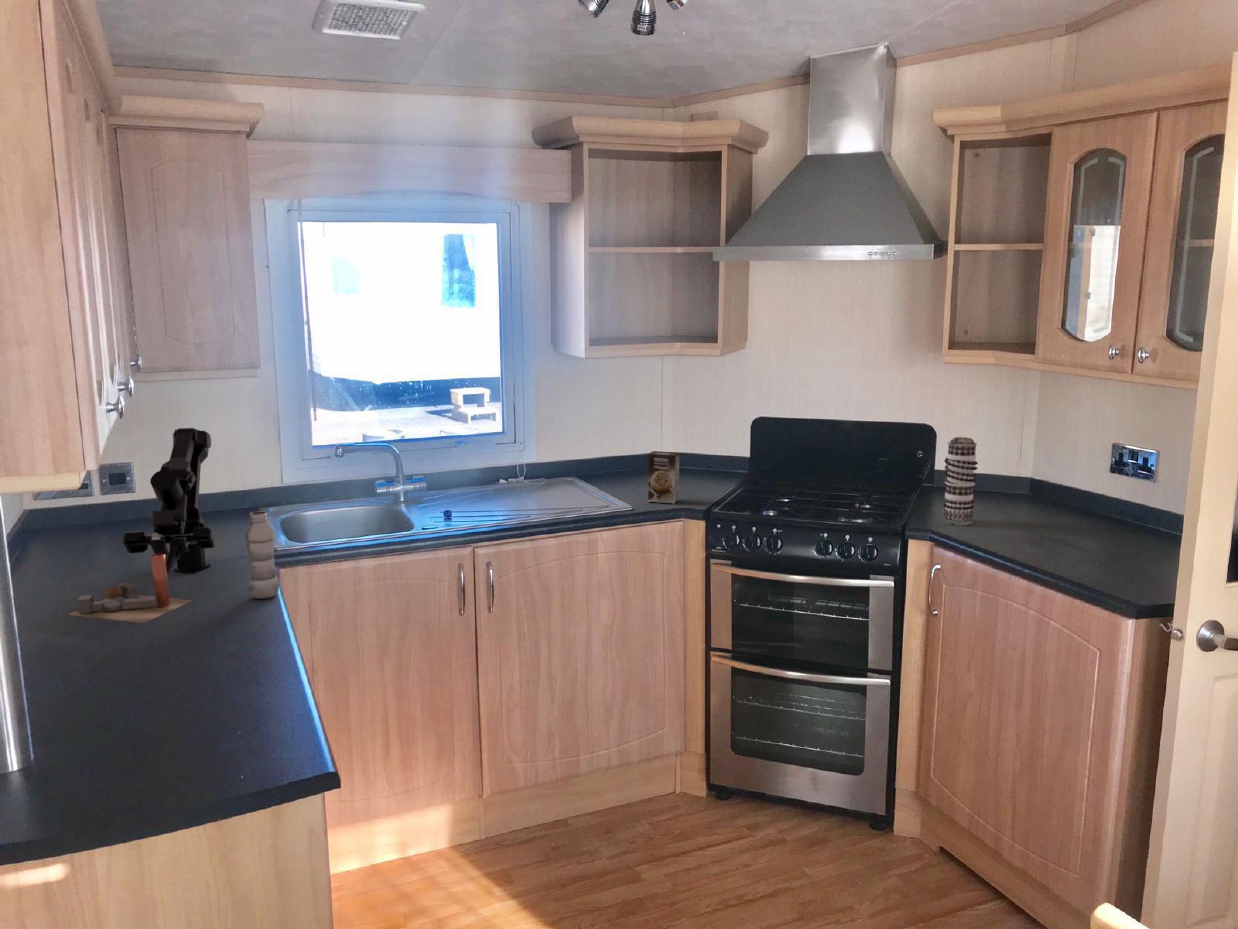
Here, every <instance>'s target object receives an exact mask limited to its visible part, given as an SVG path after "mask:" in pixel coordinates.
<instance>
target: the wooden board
mask: <svg viewBox="0 0 1238 929" xmlns="http://www.w3.org/2000/svg"><path fill="white" fill-rule="evenodd" d="M116 586H117V587H119V588H121V590H122V592H123V595H122V597H124V599H134V598H147V597H155V595H145V594H144V595H143V594H138V585H137V584H133V583H129V582H122V583H118V584H117V585H116ZM169 598H170V597H169ZM192 602H193V600H190V599H180V598H170V605H168V606H164V607H147V608H134V609H122V610H119V611H114V612H105V611H93V612H89V613H78V609H77V610H75V611H73V612H70V613H68V614H67V615H68V616H77V617H86V618H96V619H104V620H111V621H121V622H129V623H130V622H131V623H136V624H137V623H138V624H145V623H146V622H149V621H152V620H153V619H156V618H157V617H160V616H162V615H164V614H167V613H169V612H171V611H174V610H175V609H178V608H180V607H182V606H184V605H187V604H189V603H192Z"/></svg>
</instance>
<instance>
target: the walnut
mask: <svg viewBox="0 0 1238 929" xmlns="http://www.w3.org/2000/svg"><path fill="white" fill-rule="evenodd" d="M122 595H123V592H122V590H121V588H119V587H117V585H112V586H109V587H107V588H106V590H105V592H104V597H105V598H104V599H106V598H110V597H122Z"/></svg>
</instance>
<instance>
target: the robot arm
mask: <svg viewBox="0 0 1238 929" xmlns="http://www.w3.org/2000/svg"><path fill="white" fill-rule="evenodd" d="M172 445H173V446H172V450H171V454H170V457H169V460H168V461H166V462H165V463H163V464H162V465H161V466H160V470H158V471H156V472H155V473H153V475H152V476H151V478H150V480H149V481H150V485H151V488H152V490H153V492H154V495H155V497H156V500H158V501H159V510H153V511H152V512H151V514H152V515H151V526H153V531H154V533H152V534H150V535H149V536H148V535H147V536H146V534H145V533H144V531H143V530H133V531H132V530H131V531H125V533H124V534H123V536H122V542H123V544H124V547H125V549H126V550H127V552H128V553H130V554H141V553H142V554H143V553H145V552H146V551H147V550H148V548H149V546H150V547H151V549H152V551H153V554H159V553H163V554H165V558H166V568H167V574H169V573H170V572H171V571H174V572H182V573H193V574H194V573H197V572H199V571H201V570H202V571H203V570H204V569H206V568H209V567H211V566H212V565H211V563H206V552H205V549H213V548H215V544H216V543H215V542H216V537H215V534H214V532H213V529H212V528H211V527H210V526H207V525H206V523H205V521H204V520H203V517H202V515H201V512H200V511H199V498H200V497H199V496H200V486H201V485H200V483H201V466H202V464H203V462H204V461H205V460H206V459H207V458H208V456H209V452H210V451H209V449H210V448H212V438H211V434H210V433H209V432H207V431H205V430H199V429H197V428H194V427H184V428H183V427H181V428H177V429H175V430H174V431H173V433H172ZM167 544H169V550H168V547H167ZM175 565H176V567H174V566H175Z"/></svg>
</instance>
